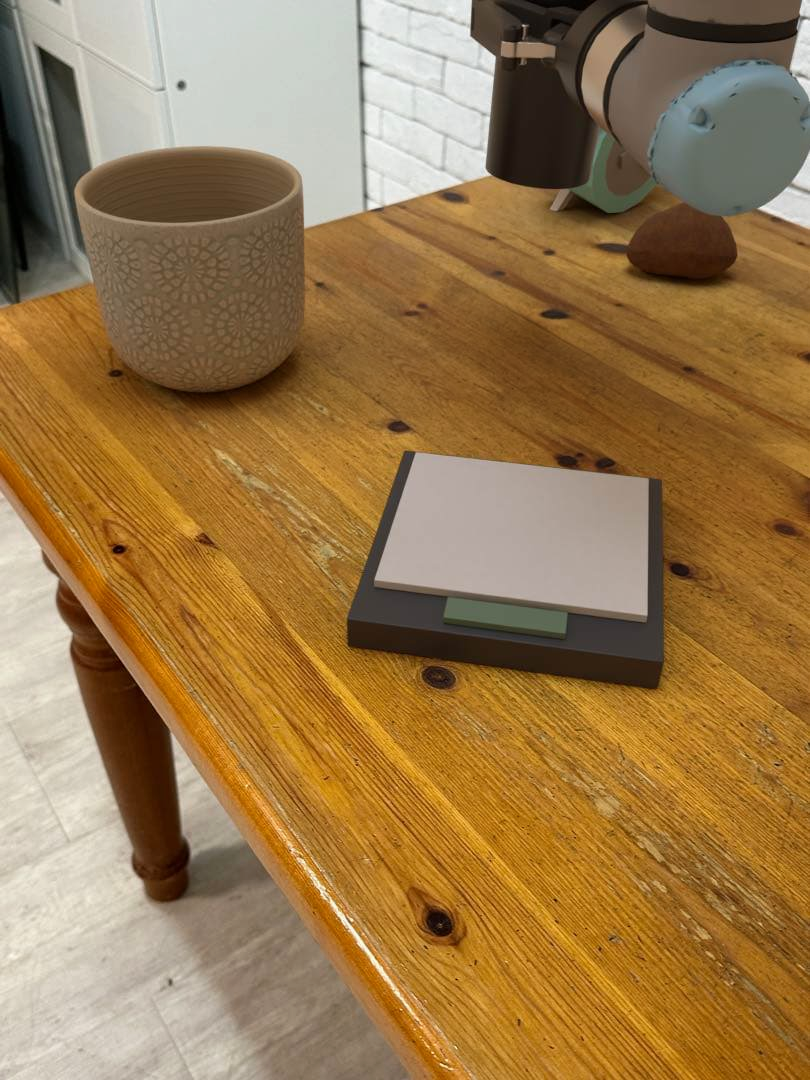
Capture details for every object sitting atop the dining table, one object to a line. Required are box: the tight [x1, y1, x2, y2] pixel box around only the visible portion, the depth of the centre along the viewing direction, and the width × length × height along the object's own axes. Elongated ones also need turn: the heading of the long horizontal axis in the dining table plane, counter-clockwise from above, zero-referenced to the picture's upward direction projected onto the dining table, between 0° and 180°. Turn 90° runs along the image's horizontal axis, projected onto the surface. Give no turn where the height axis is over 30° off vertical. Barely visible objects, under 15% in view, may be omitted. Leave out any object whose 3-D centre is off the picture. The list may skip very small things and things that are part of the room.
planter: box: [73, 145, 306, 393], centre depth 83 cm, size 17×17×15 cm
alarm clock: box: [549, 127, 658, 214], centre depth 112 cm, size 17×10×20 cm, turn 130°
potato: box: [625, 202, 738, 280], centre depth 101 cm, size 7×10×7 cm
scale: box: [346, 450, 665, 690], centre depth 66 cm, size 18×18×3 cm
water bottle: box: [484, 0, 600, 190], centre depth 78 cm, size 10×10×23 cm
